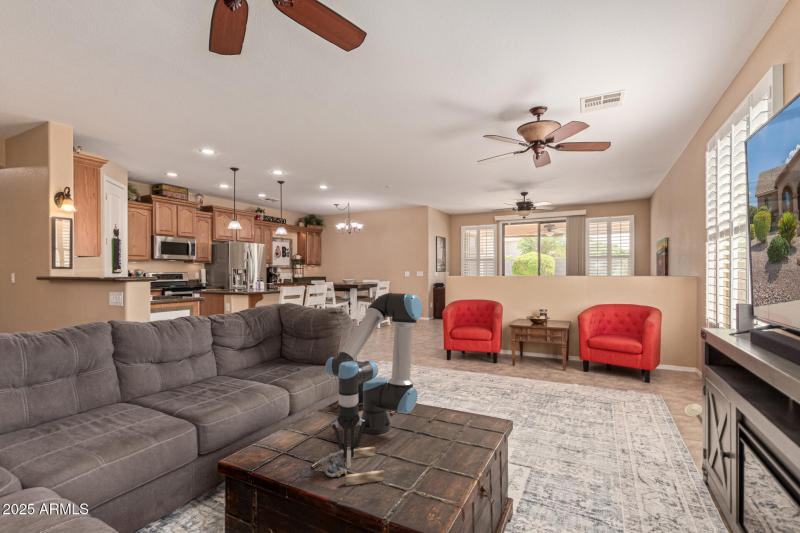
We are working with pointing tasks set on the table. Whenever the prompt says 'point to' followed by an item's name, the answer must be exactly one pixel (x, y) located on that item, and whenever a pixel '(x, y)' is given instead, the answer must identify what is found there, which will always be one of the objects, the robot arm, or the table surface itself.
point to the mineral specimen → (334, 464)
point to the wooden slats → (365, 476)
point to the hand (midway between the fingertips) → (348, 465)
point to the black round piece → (360, 397)
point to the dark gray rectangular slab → (307, 473)
